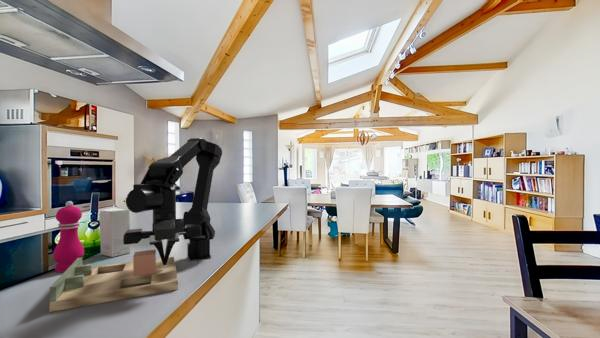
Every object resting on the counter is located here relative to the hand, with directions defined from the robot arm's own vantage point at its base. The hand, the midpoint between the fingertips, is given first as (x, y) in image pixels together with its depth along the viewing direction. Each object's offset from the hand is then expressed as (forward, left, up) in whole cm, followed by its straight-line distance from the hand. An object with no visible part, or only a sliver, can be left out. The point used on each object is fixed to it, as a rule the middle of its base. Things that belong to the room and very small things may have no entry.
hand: (164, 264), depth 76 cm
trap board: (+9, 0, -3) cm, 10 cm away
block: (+5, 0, -1) cm, 5 cm away
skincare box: (+15, -32, -3) cm, 36 cm away
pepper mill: (+25, -20, -3) cm, 32 cm away
